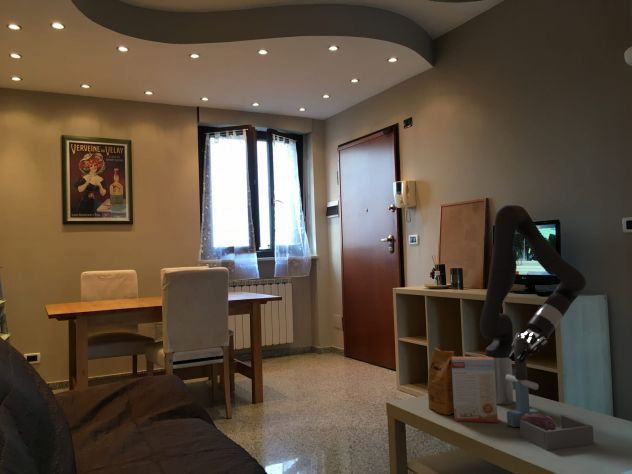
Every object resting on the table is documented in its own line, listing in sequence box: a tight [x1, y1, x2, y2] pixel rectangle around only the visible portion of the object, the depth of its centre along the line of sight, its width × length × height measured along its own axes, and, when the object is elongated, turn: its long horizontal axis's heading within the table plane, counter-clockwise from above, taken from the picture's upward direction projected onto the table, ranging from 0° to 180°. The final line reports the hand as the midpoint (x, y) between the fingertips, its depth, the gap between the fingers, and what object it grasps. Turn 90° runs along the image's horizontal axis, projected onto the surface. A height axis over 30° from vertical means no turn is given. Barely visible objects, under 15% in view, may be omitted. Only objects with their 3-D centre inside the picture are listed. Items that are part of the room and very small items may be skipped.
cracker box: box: [452, 356, 499, 424], centre depth 170 cm, size 14×6×21 cm, turn 74°
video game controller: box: [521, 413, 557, 431], centre depth 156 cm, size 10×5×7 cm, turn 62°
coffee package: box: [427, 347, 457, 416], centre depth 181 cm, size 10×12×22 cm
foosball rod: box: [505, 337, 540, 428], centre depth 163 cm, size 14×10×28 cm
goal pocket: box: [519, 414, 595, 451], centre depth 148 cm, size 12×16×5 cm
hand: (515, 360), depth 162 cm, fingers closed on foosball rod, 3 cm apart
